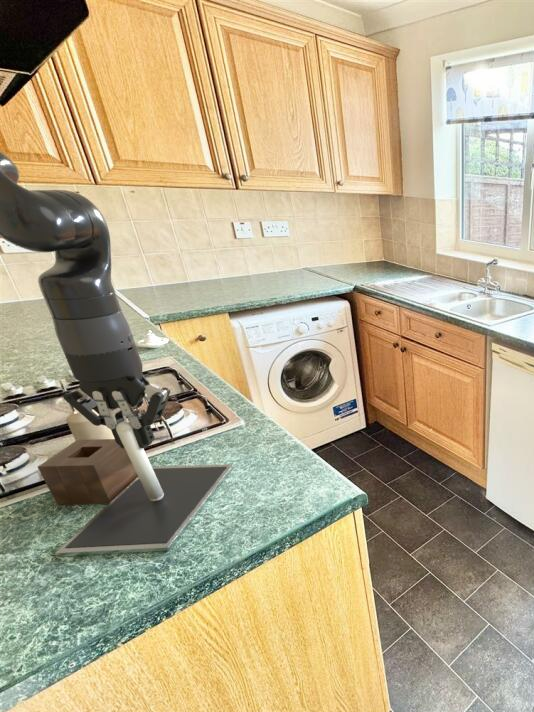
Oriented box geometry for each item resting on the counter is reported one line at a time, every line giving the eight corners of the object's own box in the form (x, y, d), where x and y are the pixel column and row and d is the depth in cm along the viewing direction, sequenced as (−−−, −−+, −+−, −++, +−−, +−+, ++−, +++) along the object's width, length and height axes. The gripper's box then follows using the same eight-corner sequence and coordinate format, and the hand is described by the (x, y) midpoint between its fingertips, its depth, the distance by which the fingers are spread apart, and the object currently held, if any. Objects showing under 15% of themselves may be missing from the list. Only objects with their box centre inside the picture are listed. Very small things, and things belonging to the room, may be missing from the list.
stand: (57, 505, 70) (37, 466, 67) (93, 476, 77) (77, 439, 74) (110, 503, 71) (93, 465, 68) (141, 474, 79) (127, 438, 75)
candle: (83, 450, 84) (63, 406, 80) (119, 441, 88) (102, 399, 83) (82, 463, 80) (62, 418, 76) (120, 453, 84) (103, 410, 80)
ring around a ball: (135, 352, 130) (168, 349, 133) (129, 335, 127) (162, 332, 131) (141, 345, 136) (171, 342, 140) (135, 328, 134) (167, 326, 137)
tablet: (56, 557, 61) (54, 552, 61) (149, 469, 80) (148, 466, 80) (169, 551, 63) (168, 546, 63) (234, 467, 82) (233, 463, 82)
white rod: (147, 504, 71) (110, 426, 63) (155, 495, 72) (119, 418, 65) (161, 503, 71) (125, 426, 63) (168, 495, 73) (133, 418, 65)
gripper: (19, 352, 55) (69, 460, 63) (134, 353, 57) (171, 458, 64) (66, 334, 62) (107, 433, 69) (168, 335, 64) (197, 432, 71)
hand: (137, 445), depth 67 cm, fingers closed on white rod, 2 cm apart
